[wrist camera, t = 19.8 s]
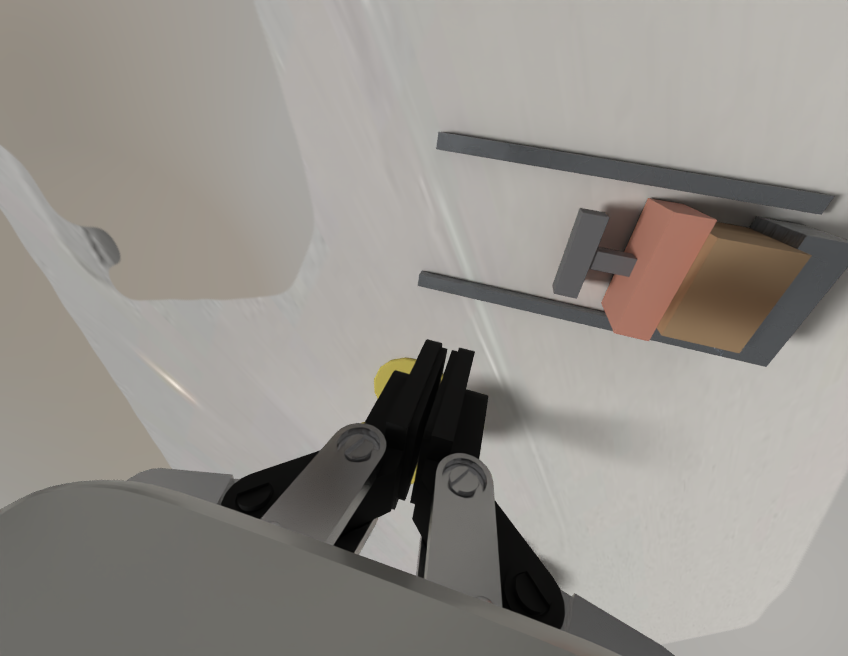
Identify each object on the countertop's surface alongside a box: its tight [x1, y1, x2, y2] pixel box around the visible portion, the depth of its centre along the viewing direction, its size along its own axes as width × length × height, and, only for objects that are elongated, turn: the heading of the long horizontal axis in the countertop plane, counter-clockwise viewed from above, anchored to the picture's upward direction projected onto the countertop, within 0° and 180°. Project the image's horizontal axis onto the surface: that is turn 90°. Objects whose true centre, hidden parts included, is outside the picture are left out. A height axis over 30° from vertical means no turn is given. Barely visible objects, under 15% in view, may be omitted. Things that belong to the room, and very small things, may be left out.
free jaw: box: [553, 198, 717, 341], centre depth 27 cm, size 9×7×6 cm
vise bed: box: [418, 132, 848, 367], centre depth 27 cm, size 13×27×6 cm, turn 82°
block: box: [657, 222, 812, 353], centre depth 25 cm, size 7×5×7 cm
